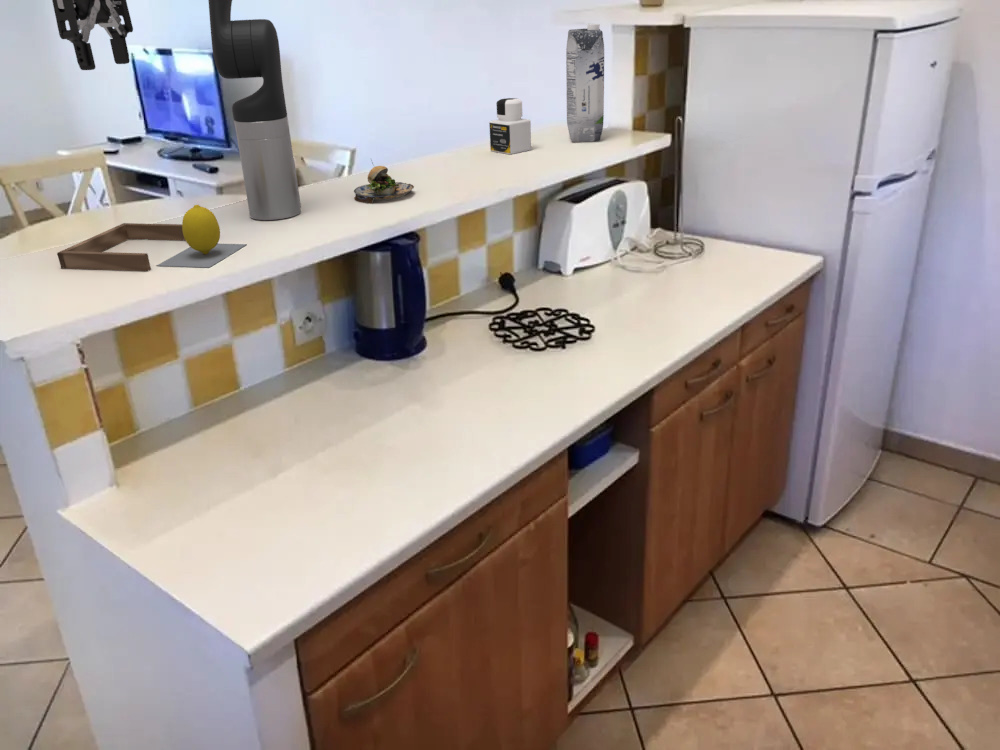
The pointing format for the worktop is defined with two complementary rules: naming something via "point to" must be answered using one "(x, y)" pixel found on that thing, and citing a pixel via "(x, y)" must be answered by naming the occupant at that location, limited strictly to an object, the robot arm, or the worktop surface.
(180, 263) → the mat
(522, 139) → the medicine bottle
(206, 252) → the lemon
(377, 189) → the burger
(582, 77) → the juice carton
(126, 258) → the bay
